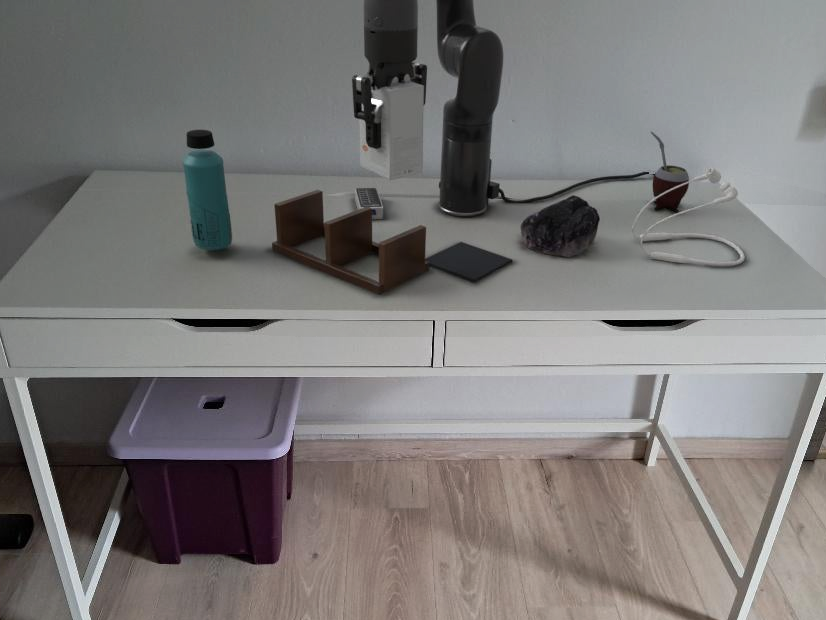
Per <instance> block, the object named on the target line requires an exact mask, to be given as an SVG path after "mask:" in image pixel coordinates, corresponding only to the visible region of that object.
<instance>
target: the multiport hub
mask: <svg viewBox="0 0 826 620" xmlns="http://www.w3.org/2000/svg"><path fill="white" fill-rule="evenodd" d="M354 202H355V205H356V210H359V209H362V208H365V207H370V208H372V220H383V219H384V205H383V202H382V199H381V197H380V193H379V190H378V188H377V187H359V188H358V187H356V188H355V189H354Z"/></svg>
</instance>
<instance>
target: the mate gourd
mask: <svg viewBox="0 0 826 620" xmlns="http://www.w3.org/2000/svg"><path fill="white" fill-rule="evenodd" d="M650 134H651V135H652V136H653V137H654V138H655V139H656V141H657V142H658V146H659V149H660V152H661V158H662V159H661V160H662V163H663V165H662V166H660V167H659V168H658V169H657V170H656V171H655V176H654V175H653V179H652V194H653V196H654V198H655V197H657V196H659V195H660V194H662V193H664V192H666V191H668V190H670V189H672V188H674V187H676V186H678V185H681V184H683V183H686V182H688V181H690V176H689V174H688V173H689V172H688V171H687V169H685V168H684V167H681V166H678V165H671V164H670V165H667V159H666V153H665V145H664V142H663V141H662V139H661V138H660V137H659V136H658V135H657V134H656V133H654V131H650ZM689 186H690V183H688V184H685V185H683V186H680V187H678V188H676V189H674V190H671V191H669V192H667V193H665V194H664V195H662V196H660V197H658V198H657V199H655V200H654V201H653V205H655V207H653V210H654V211H656V212H658V211H662V210H668V211H670V212H673V213H674V214H677V213H679V212H680V211H679V209H678V208H679V206H680V204H681V203H682V200H683V198H684V197H685V196H686V194H687V192H688V190H689Z"/></svg>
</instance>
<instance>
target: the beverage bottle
mask: <svg viewBox="0 0 826 620" xmlns="http://www.w3.org/2000/svg"><path fill="white" fill-rule="evenodd" d="M214 146H215V140H214V136H213V132H212V131H211V130H207V129H192V130H189V131H187V132H186V147H187V148H189V149H194V150H192V151H190V152H188V153H187V154H186V155H185V157H184V158H183V159H182V160H181V161H182V167H183V172H184V173H183V174H184V180H185V189H186V190H185V194H186V195H187V202H188V209H189V218H190V226H191V227H190V230H191V235H192V239H193V240H192V242H193V243H194V246H196V247H197V248H198V249H200V250H207V251H215V250H216V251H218V250H222V249H225V248H228V247H230V246H231V245H232V242H233V233H232V232H233V229H232V222H231V214H230V211H231V210H230V209H231V208H230V207H229V201H228V193H227V186H226V177H225V168H224V167H225V166H224V158H223V157H222V156H221V155H220V154H219V153H217V152H215V151H214V150H210V149H211V148H213V147H214ZM229 208H230V209H229Z"/></svg>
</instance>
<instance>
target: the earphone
mask: <svg viewBox="0 0 826 620" xmlns="http://www.w3.org/2000/svg"><path fill="white" fill-rule="evenodd" d="M721 179H722V175H721V173H720V171H718V170H717V169H716V168H715V167H708V168H707V169H706V171H705V174H701V175H698V176H695V177H693V179H691V180H689V181H688V182H686V183H683V184H681V185H678V186H676V187H674V188H672V189H670V190H668V191H666V192H664V193H662V194H660V195H659V196H657V197H654V198H652V199H651V200H650V201H649V202H647V203H646V204H645V205H644V206H643V207H642V208H641V210H640V211H639V213H638V214H637V216H636V218H635V219H634V221H633V224H632V226H631V233H632V235H633V236H634V238H637V239H638V240H639V241H640V242H639V243H640V244H639V245H640V248H641V250H642V251H643V252H644V253H645V254H647V255H649V256H650V258H651V259H652V260H657V261H666V262H671V263H677V264H678V263H679V264H689V263H690V264H696V265H697V264H698V265H702V266H703V265H704V266H713V267H732V266H733V267H734V266H737V265H740V264H742V263H743V262H744V261H745V258H746V256H745V253H744V252H743V250H742V249H741V248H740V247H739V246H738V245H737V244H735V243H734V242H732V241H731V240H729V239H726V238H723V237H722V236H721V237H720V236H717V235H712V234H706V233H698V232H697V233H695V232H694V233H692V232H690V233H689V232H687V233H686V232H682V233H681V232H680V233H671V232H650V231H651V230H652V229H653V228H654V227H656V226H657V225H659V224H660V223H662V222H665V221H667V220H669V219H672V218H675V217H677V216H679V215H682V214H684V213H688V212H691V211H694V210H697V209H700V208H705V207H707V206H710V205H719V204H723V203H727V202H732V201H733V200H734V199H736V198H737V197H738V195H739V191H738V189H737V188H736V187H735V186H733V185H731V183H730V182H729V181H724V182H723V183H721V184H720V185H719V190H720V191H721V192H722V195H723V196H722V197H718V198H715V199H714V200H713V201H711V202H708V203H705V204H701V205H698V206H695V207H691V208H688V209H685V210H683V211H679V212H678V213H673V214H671V215H670V216H667V217H665V218H663V219H660V220H659V221H657V222H655V223H654V224H652V225H651V226H649V228H648V229H647V230H646V231H644V233H641V234H640V235H639V236H638V235H637V234H636V233H635V225H636V223H637V221H638V219H639V217H640V216H641V214H642V213H643V212H644V211H645V209H646V208H648V206H650V205H651V204H652V203H654V201H655V200H656V199H657V198H658V197H660V196H662V195H664V194H665V193H667V192H669V191H671V190H674V189H676V188H678V187H680V186H683V185H685V184H688V183H689V184H690V183H693V182H694V183H697V182H701V181H704V180H708V182H710V183H711V184H718V183H719V182H720V181H721ZM649 232H650V233H649ZM673 238H675V239H677V238H701V239H707V240H713V241H717V242H720V243H723V244H726V245H728V246H729V247H731V248H733V250H735V251H736V252H737V254H738V255H739V257H740V258H739V259H737V260H734V261H712V260H705V259H704V260H703V259H698V258H697V259H696V258H691V257H688V256H685V255H681V254H675V253H674V254H673V253H667V252H661V251H655V250H654V251H652V252H651V253H650V252H649V251H647V250H646V249H645V248H644V246H643V242H654V241H667V240H669V239H673Z"/></svg>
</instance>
